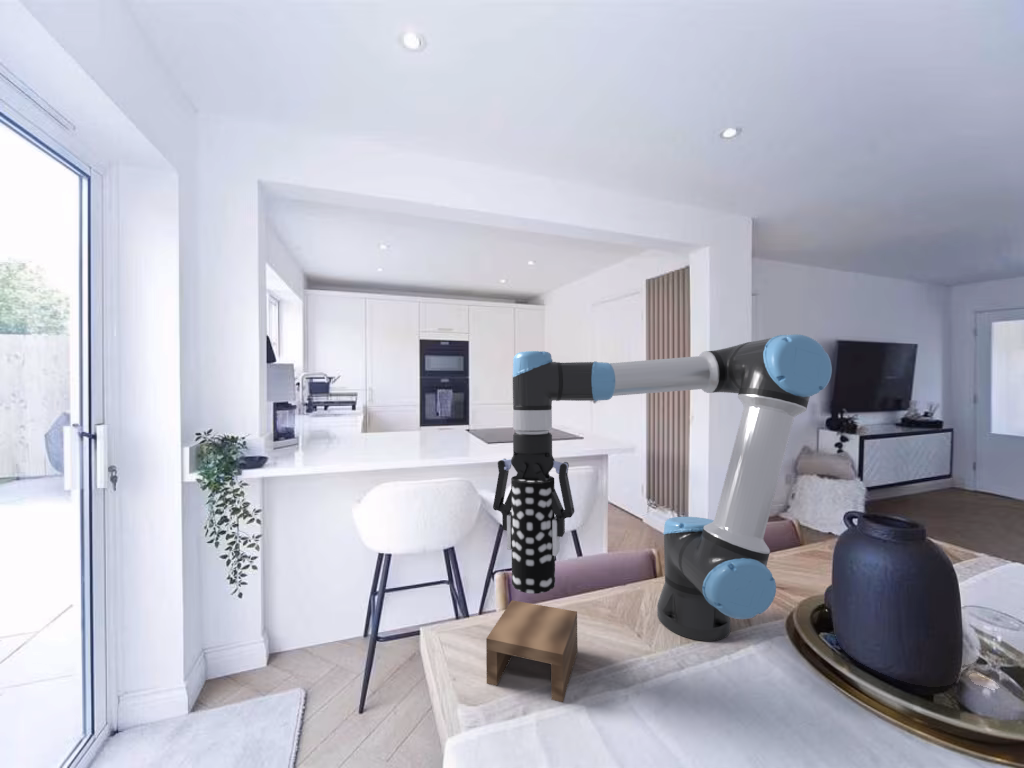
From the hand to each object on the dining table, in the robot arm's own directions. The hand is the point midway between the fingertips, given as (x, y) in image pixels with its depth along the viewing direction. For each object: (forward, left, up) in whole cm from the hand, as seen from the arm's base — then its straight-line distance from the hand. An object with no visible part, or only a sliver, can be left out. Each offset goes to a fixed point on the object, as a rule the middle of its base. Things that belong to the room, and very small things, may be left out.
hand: (533, 549), depth 77 cm
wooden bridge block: (0, 0, -22) cm, 22 cm away
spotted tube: (0, 0, -7) cm, 7 cm away
